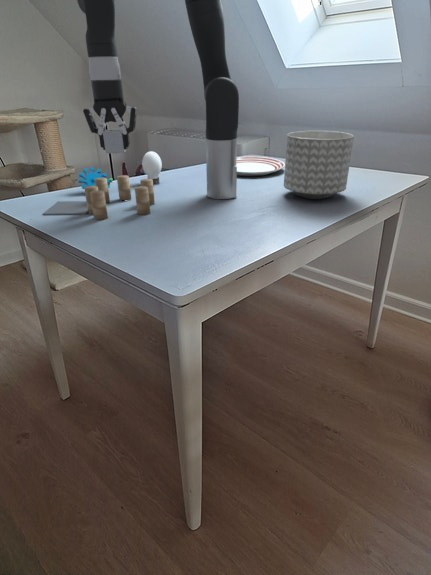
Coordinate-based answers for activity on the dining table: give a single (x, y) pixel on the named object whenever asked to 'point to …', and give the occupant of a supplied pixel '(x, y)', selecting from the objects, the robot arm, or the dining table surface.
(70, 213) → the mat
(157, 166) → the light bulb
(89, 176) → the gear
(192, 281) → the dining table surface
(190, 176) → the dining table surface
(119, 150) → the grey block
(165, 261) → the dining table surface
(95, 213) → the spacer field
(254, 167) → the dinner plate
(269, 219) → the dining table surface
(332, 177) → the planter
